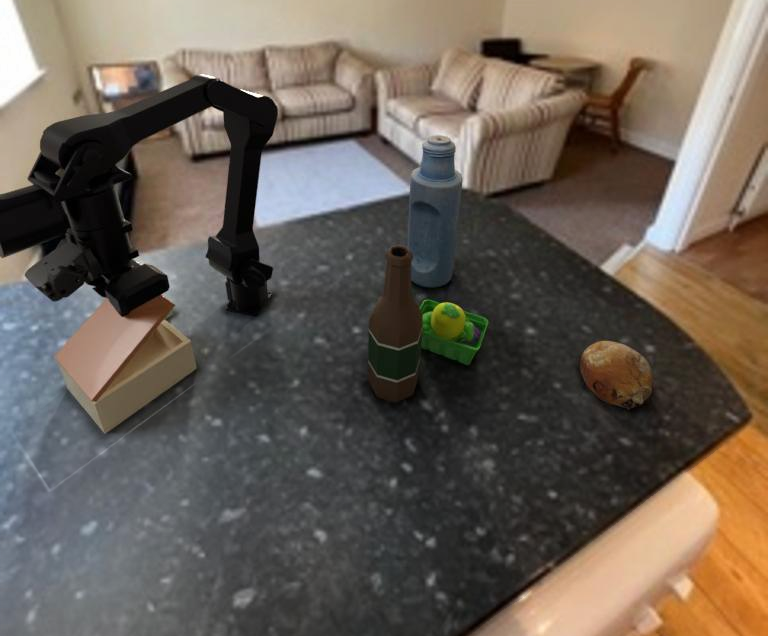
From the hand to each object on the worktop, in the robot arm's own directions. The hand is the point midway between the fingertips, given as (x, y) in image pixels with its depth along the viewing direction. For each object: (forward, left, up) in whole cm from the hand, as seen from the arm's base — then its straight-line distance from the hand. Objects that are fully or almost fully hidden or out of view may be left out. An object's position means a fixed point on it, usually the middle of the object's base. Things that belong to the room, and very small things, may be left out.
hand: (124, 314), depth 64 cm
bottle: (-39, -37, -12) cm, 55 cm away
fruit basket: (-45, -18, -12) cm, 50 cm away
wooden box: (0, +1, -12) cm, 12 cm away
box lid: (+1, +1, -2) cm, 3 cm away
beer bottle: (-38, -9, -12) cm, 40 cm away
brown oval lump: (-71, -18, -12) cm, 74 cm away
